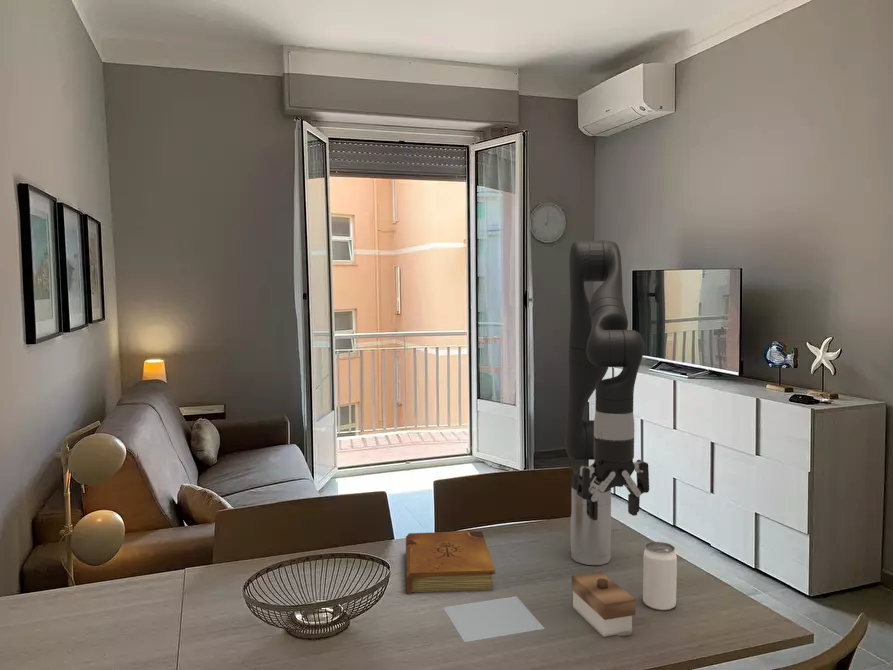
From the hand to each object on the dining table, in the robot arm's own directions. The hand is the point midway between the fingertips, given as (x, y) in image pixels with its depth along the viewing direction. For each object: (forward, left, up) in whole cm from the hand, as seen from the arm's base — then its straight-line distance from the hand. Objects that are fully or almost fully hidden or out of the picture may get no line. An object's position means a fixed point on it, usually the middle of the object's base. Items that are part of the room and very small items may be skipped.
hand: (612, 516), depth 131 cm
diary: (-31, -24, -21) cm, 45 cm away
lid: (0, -2, -17) cm, 17 cm away
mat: (-7, -22, -21) cm, 31 cm away
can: (-3, +13, -21) cm, 25 cm away
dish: (0, -2, -21) cm, 21 cm away
